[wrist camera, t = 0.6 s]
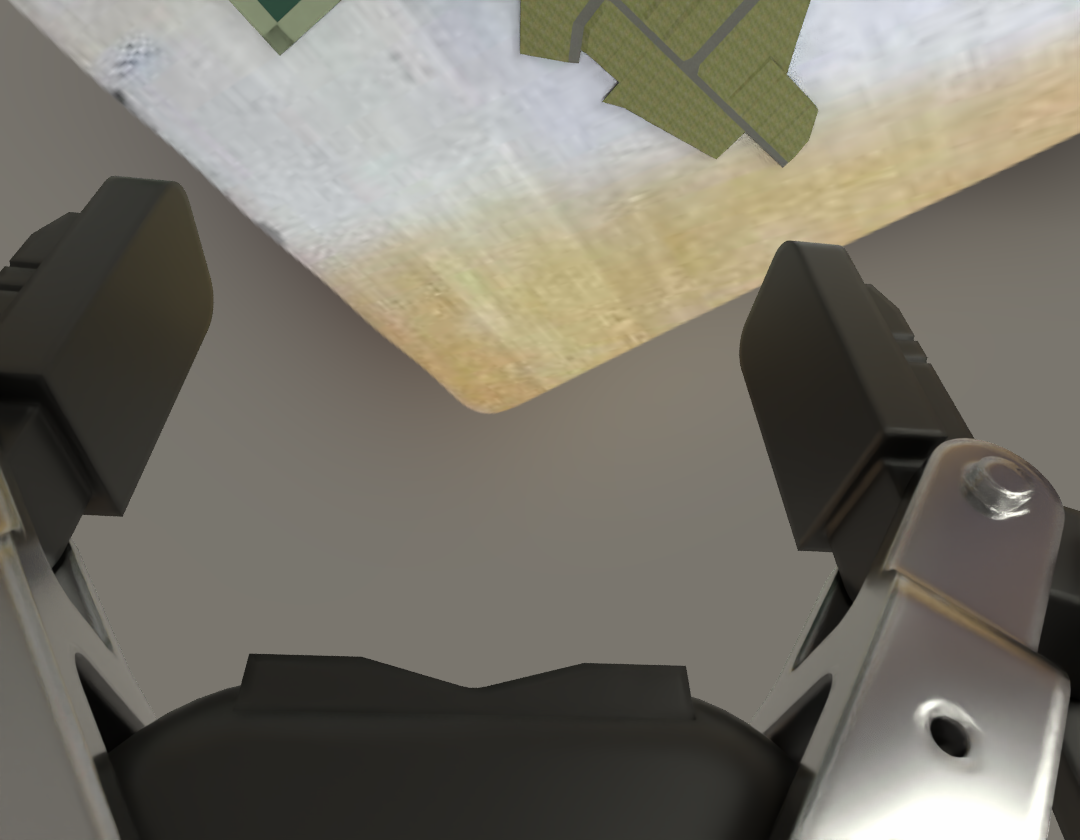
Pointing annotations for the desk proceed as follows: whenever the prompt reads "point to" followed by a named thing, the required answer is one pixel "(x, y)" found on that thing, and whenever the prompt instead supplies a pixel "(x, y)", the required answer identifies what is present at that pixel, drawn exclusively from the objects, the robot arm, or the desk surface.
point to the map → (688, 64)
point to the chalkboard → (283, 18)
